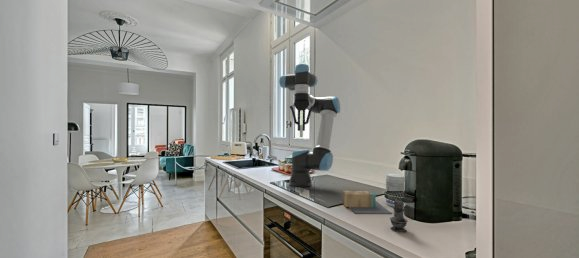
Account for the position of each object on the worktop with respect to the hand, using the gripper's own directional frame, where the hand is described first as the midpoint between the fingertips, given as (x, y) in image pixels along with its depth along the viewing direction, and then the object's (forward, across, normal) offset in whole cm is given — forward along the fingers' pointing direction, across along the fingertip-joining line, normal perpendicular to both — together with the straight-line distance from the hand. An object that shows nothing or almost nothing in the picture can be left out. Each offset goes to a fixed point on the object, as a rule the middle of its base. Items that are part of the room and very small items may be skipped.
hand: (301, 136), depth 131 cm
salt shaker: (+33, +33, -43) cm, 63 cm away
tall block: (+29, +20, -15) cm, 38 cm away
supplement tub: (+33, +46, -13) cm, 58 cm away
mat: (+32, +30, -15) cm, 47 cm away
